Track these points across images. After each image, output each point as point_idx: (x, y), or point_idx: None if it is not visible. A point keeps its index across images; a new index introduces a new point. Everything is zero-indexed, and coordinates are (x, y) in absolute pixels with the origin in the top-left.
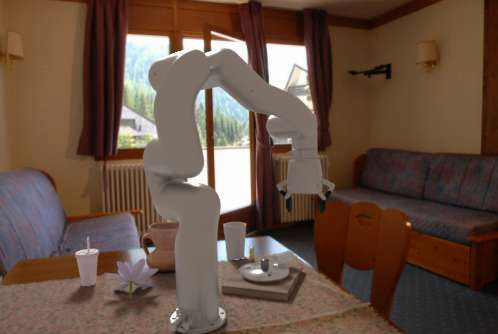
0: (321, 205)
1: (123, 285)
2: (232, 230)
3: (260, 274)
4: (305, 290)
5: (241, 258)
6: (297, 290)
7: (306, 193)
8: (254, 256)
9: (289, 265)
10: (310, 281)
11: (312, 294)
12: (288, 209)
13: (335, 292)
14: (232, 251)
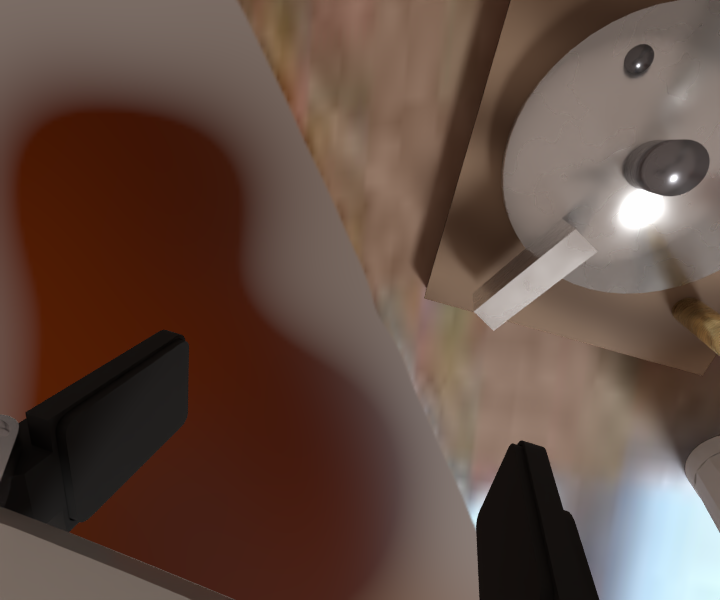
0: (107, 373)
1: None
2: None
3: (695, 67)
4: (434, 63)
5: (711, 445)
6: (470, 58)
7: (153, 574)
8: (698, 326)
9: None
10: (403, 176)
11: (406, 16)
12: (542, 466)
13: (311, 57)
14: None
